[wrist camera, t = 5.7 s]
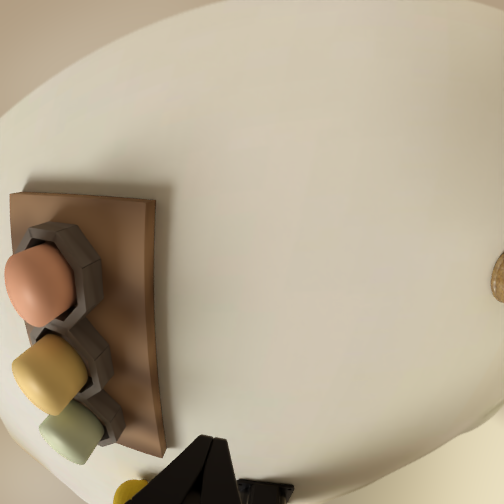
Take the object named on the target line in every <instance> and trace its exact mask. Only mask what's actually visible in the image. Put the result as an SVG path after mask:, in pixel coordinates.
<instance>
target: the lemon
mask: <svg viewBox="0 0 504 504" xmlns="http://www.w3.org/2000/svg"><path fill="white" fill-rule="evenodd" d="M147 484H148V482H147V480H144V479H143V480H128V481H126V482H124V483H122V484H121V485H120V486H119V487H118V489H117V491H116V493H115V496H114V500H113V504H124V503H125V502H127V501H128V500H129V499H131V500H132V497H133V496H134V495H135V494H136V493H138V492H139V491H140V490H141V489H142V488H143V487H145V486H146V485H147Z"/></svg>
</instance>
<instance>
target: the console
mask: <svg viewBox="0 0 504 504" xmlns="http://www.w3.org/2000/svg"><path fill="white" fill-rule="evenodd" d="M155 205H156V200H147V199H135V198H122V197H109V196H94V195H78V194H59V193H37V192H18V193H12V194H10V224H11V238H12V249H13V255H14V254H16V253H19V252H21V251H24V250H27V249H29V248H32V247H34V246H37V245H40V244H42V243H45V242H48V241H53V242H54V243H55V244H56V246H57V247H58V249H59V250H60V252H61V253H62V255H63V256H64V258H65V259H66V260H67V262H68V263H69V265H70V266H71V268H72V269H73V270H74V276H75V286H76V295H77V303H76V304H74V305H73V306H72V307H70V308H69V309H67V310H66V311H64V312H63V313H62V314H60V315H59V316H57V317H56V318H55V319H53V320H52V321H51V322H49V323H48V324H46V325H45V326H43V327H35V326H32V325H30V324H29V323H27V322H26V321H25V320H24V321H25V325H26V329H27V333H28V337H29V341H30V344H31V346H32V345H34V344H35V343H36V342H38V341H39V340H40V339H41V338H43V337H44V336H45V335H47V334H54V335H57V336H59V337H61V338H63V339H64V340H66V341H67V342H68V343H69V344H70V345H71V346H72V347H73V348H74V349H75V350H76V351H77V353H78V354H79V355H80V357H81V358H82V360H83V362H84V364H85V366H86V369H87V373H88V380H87V382H86V384H85V385H84V386H83V387H82V388H81V390H80V391H79V392H78V393H77V394H76V395H75V397H74V398H73V399H72V400H75V401H77V402H79V403H80V404H82V405H83V406H85V407H86V408H88V409H89V410H90V411H91V412H92V413H93V414H94V415H95V416H96V417H97V418H98V419H99V421H100V422H101V424H102V425H103V428H104V435H103V437H102V438H101V440H100V441H99V443H98V444H97V445H99V446H102V447H103V446H107V445H110V444H113V443H118V444H121V445H123V446H126V447H129V448H132V449H135V450H137V451H140V452H143V453H146V454H150V455H153V456H156V457H159V458H163V456H164V453H165V451H166V449H167V448H166V441H165V434H164V427H163V419H162V411H161V403H160V393H159V383H158V371H157V358H156V342H155V322H154V227H155Z"/></svg>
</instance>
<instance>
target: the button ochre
mask: <svg viewBox="0 0 504 504" xmlns="http://www.w3.org/2000/svg"><path fill="white" fill-rule="evenodd" d="M12 371H13V375H14V377H15V380H16V382H17V384H18V385H19V387H20V389H21V390H22V391H23V393H24V394H25V395H26V397H27V398H28V399H29V400H30V401H31V402H32V403H33V404H34V405H35V406H37V407H38V408H39V409H40V410H42V411H44V412H45V413H47V414H50V415H53V416H57V415H59V414H60V413H61V412H62V411H63V409H64V408H65V407H66V406H67V405H68V404H69V402H70V401H71V400H72V399H73V398H74V397H75V395H76V394H77V393H78V392H79V391H80V390H81V388H82V387H83V386H84V385H85V384H86V382H87V380H88V373H87V369H86V366H85V364H84V362H83V360H82V358H81V357H80V355H79V354H78V353H77V351H76V350H75V349H74V348H73V347H72V346H71V345H70V344H69V343H68V342H67V341H66V340H64V339H63V338H61V337H59V336H57V335H54V334H47V335H45V336H44V337H43V338H41V339H40V340H39V341H38V342H36V343H35V344H34V345H32V346H31V347H30V348H29V349H27V350H26V351H25V352H24V353H22V354H21V355H20V356H19V357H17V358H16V359H15V360H14V361H13V363H12Z"/></svg>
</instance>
